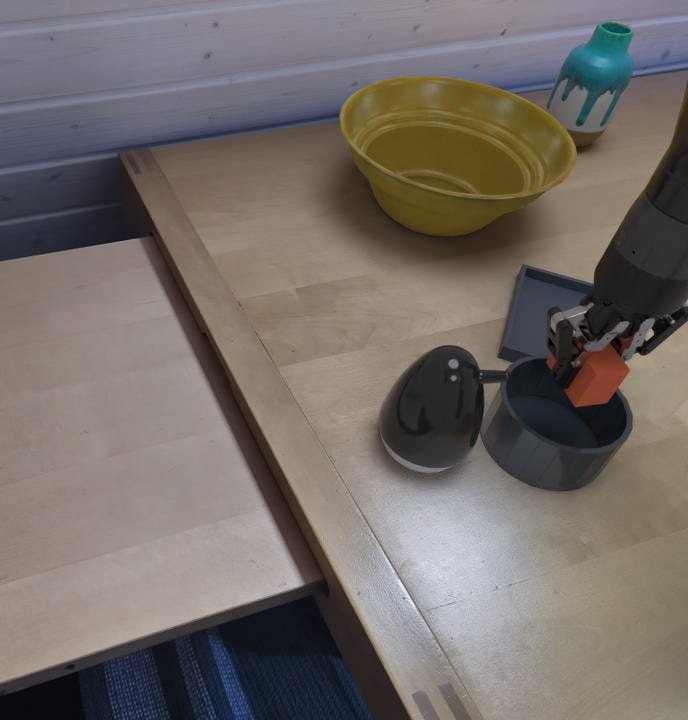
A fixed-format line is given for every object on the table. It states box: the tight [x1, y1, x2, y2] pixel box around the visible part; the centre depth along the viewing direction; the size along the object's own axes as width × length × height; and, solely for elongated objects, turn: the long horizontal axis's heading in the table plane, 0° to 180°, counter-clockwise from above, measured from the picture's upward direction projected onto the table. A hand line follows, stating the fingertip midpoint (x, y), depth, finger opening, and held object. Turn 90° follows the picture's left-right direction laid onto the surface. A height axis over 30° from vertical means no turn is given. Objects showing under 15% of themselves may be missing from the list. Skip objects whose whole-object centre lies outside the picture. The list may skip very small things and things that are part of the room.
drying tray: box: [497, 263, 594, 363], centre depth 91 cm, size 17×13×2 cm
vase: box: [544, 19, 635, 148], centre depth 116 cm, size 11×11×19 cm
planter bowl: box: [338, 75, 578, 237], centre depth 103 cm, size 32×32×13 cm
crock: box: [480, 355, 634, 492], centre depth 77 cm, size 13×13×7 cm
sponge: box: [546, 342, 631, 407], centre depth 70 cm, size 4×6×5 cm, turn 10°
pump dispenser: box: [377, 344, 510, 474], centre depth 73 cm, size 10×10×15 cm
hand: (577, 380), depth 72 cm, fingers closed on sponge, 3 cm apart
